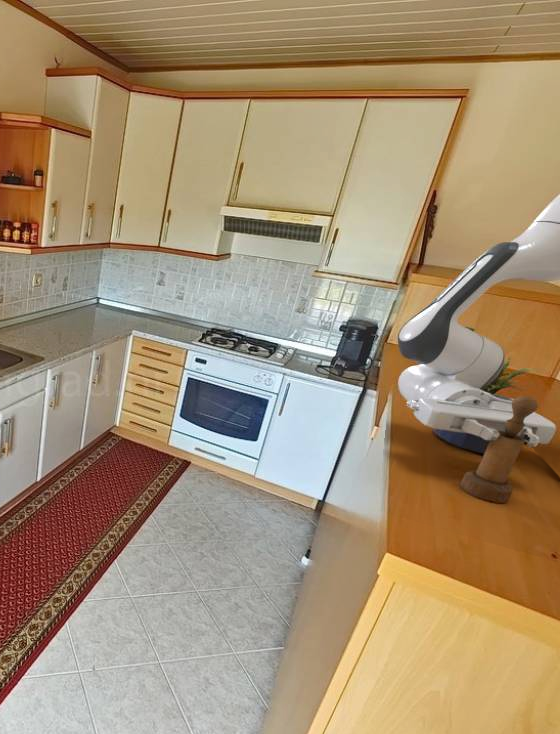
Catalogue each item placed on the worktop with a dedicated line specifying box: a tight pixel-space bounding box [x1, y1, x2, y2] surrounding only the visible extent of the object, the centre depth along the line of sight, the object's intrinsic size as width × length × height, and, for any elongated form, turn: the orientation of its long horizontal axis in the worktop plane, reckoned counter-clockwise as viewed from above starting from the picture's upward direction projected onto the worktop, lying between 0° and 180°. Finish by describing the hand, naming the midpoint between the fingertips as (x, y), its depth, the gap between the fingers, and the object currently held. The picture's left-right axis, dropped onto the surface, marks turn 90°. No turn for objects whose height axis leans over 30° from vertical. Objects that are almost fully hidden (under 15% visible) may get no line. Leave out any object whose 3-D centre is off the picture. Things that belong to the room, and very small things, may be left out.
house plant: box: [482, 356, 542, 396], centre depth 118 cm, size 14×14×16 cm
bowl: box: [432, 428, 490, 455], centre depth 105 cm, size 14×14×6 cm
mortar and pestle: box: [459, 395, 539, 504], centre depth 82 cm, size 7×6×18 cm
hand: (513, 439), depth 80 cm, fingers open, 5 cm apart
